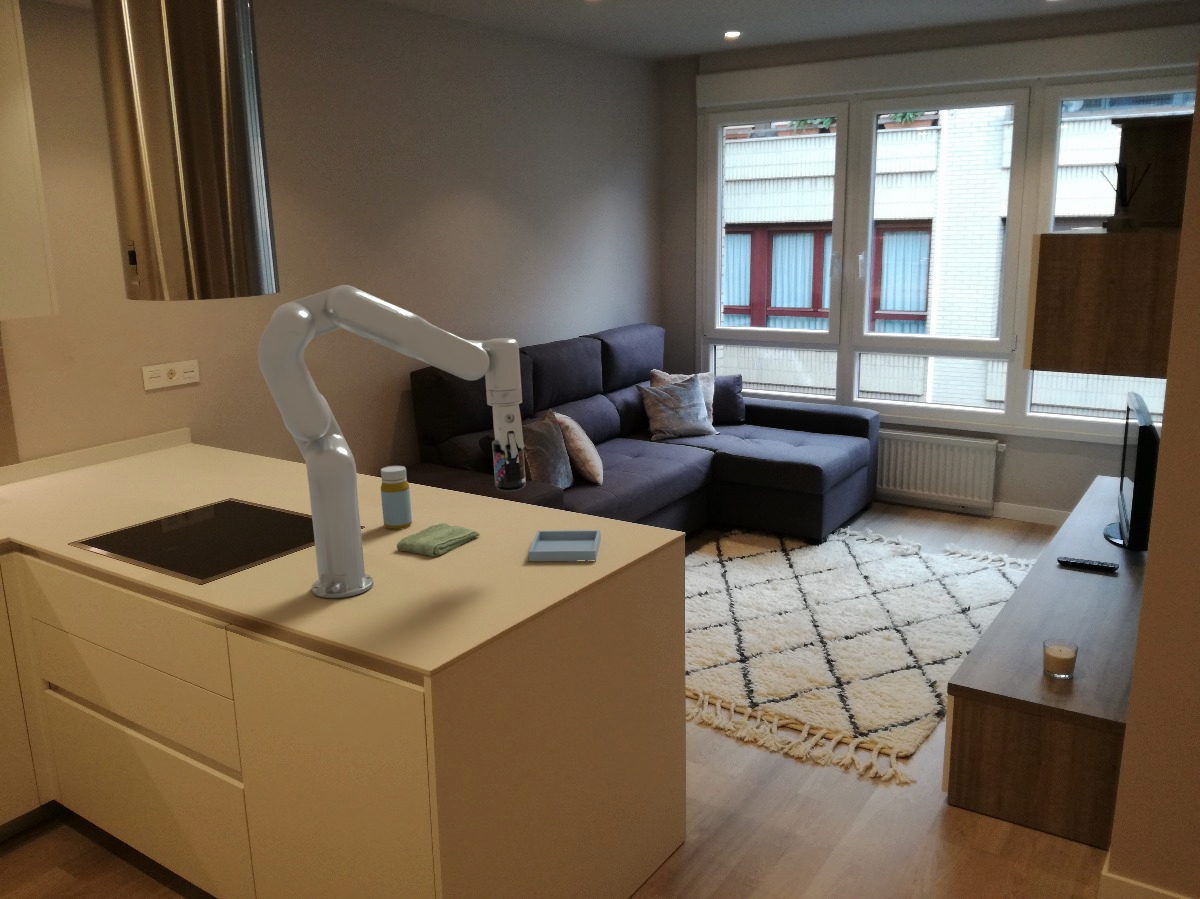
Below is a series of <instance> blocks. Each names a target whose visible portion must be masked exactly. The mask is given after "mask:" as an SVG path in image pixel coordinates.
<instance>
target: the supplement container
mask: <svg viewBox="0 0 1200 899" xmlns="http://www.w3.org/2000/svg"><path fill="white" fill-rule="evenodd" d="M491 447H492V456H493V457H492V458H493V471H494V486H495V488H496V489H497V490H499V491H503V492H511V491H513V492H514V491H518V490H519V491H520V490H522V489H523V488H524V487H526V482H527V480H526V470H525V468H526V467H525V465H526V464H525V453H524V448H523V449H520V448H519V447H518V446H517V450H518V457H519V463H520V478H521V479H520V480H519V481H511V482H507V481H506V480H505V466H504V463H506V461H505V454H504V451H503V450H501V448H500V444H499V443H498V442H497V441H496V440H495V439H494V440H492V442H491ZM506 449H510V446H509V445H507V446H506ZM509 453H510V452H508V455H509Z"/></svg>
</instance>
